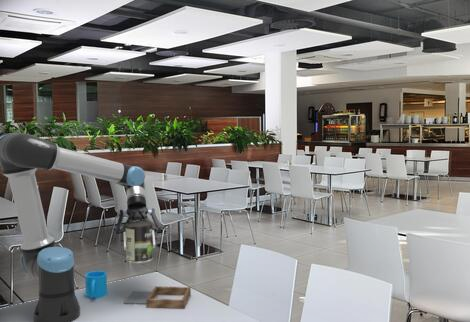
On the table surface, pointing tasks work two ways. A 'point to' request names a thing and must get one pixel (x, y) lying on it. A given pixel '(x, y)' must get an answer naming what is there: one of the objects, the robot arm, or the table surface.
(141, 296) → the mat
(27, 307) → the table surface
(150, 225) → the coffee can
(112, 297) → the table surface
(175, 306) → the crate
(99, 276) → the mug
